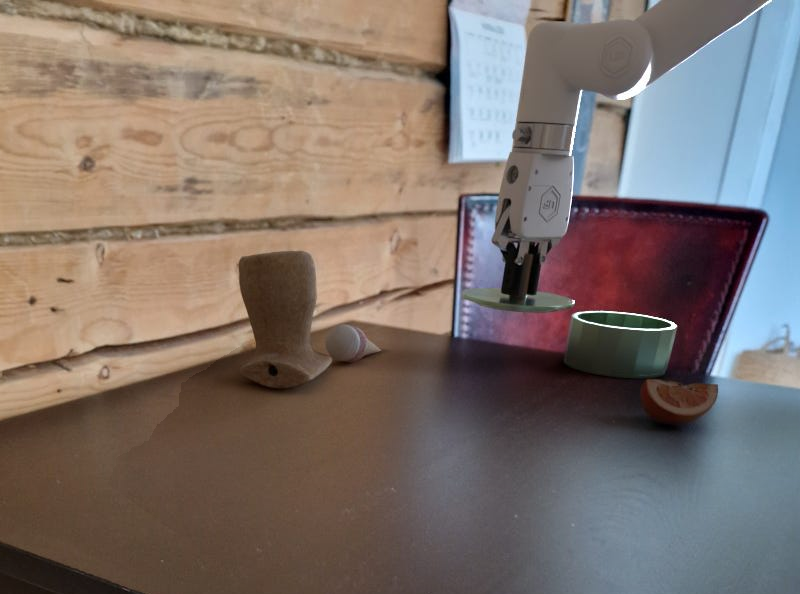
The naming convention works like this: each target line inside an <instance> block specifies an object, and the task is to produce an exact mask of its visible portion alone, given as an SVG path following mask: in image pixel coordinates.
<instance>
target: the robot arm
mask: <svg viewBox="0 0 800 594" xmlns="http://www.w3.org/2000/svg"><path fill="white" fill-rule="evenodd" d="M770 2H772V0H659V1H658V2H656V3H655V4H654V5H653V6H651V7H650V8H649V9H647V10H646V11H645V12H643V13H642V14H641V15H639V16H638V17H636V18H635V19H634V20H632V19H627V18H626V19H622V18H621V19H614V20H613V19H612V20H607V21H601V22H593V23H592V22H591V23H579V22H574V21H561V20H560V21H557V20H556V21H555V20H554V21H544V22H540V23H537V24H536V25H534V26H533V27H532V28H531V30H530V32H529V34H528V38H527V43H526V48H525V56H524V63H523V71H522V77H521V85H520V92H519V99H518V104H517V112H516V117H515V118H516V119H515V125H514V130H513V131H512V134H511V137H512V144H511V145H512V146H511V151H509V154H508V157H507V161H506V163H505V167H504V171H503V175H502V179H501V183H500V187H499V193H498V198H497V204H496V209H495V218H494V232H493V234H492V236H491V243H492V245H494V246H495V247H496V248H497V249H499V251H500V253H501V255H502V257H501V258H502V259H501V260H502V262H503V263H504V267H503V274H502V281H501V287H500V288H501V293H502V294H506V295H511V296H520V295H521V292H522V285H523V279H524V273H525V265H522V263H523V260H524V254H525V253H531V254H533V261H532V267H531V273H530V279H529V285H528V291H527V295H536V293H537V291H538V287H539V280H540V276H541V271H542V270H541V269H542V265H543V264H545V262H546V260H547V255H548V254H549V253H550V252H551V250H552V249H553V248H554V247H556V246H557V245H559V244H560V243H561V241H562V238H563V237H564V236H565V235H566V233H567V230H568V227H569V226H568V225H569V220H570V214H571V206H572V200H573V199H572V197H573V188H574V175H575V174H574V173H575V161H574V159H575V157H574V155H572V150H573V145H574V138H575V134H576V133H575V132H576V126H577V121H578V116H579V110H580V104H581V98H582V94H583V91H584V92H589V93H590V92H591V93H595V94H600V95H602V96H604V97H606V98H607V99H611V100H616V101H619V100H621V101H622V100H627V99H629V98H631V97H634V96H636V95H637V94H639V93H640V92H641V91H643V90H645V89H646V88H647V87H649V86H651V85H652V84H654V83H655V82H656V81H658V80H660V79H661V78H662V77H663V76H665V75H666V74H668V73H669V72H671V71H672V70H673V69H675V68H677V67H678V66H679V65H681V64H683V63H684V62H685V61H687V60H688V59H689V58H691V57H692V56H694V55H695V54H696V53H698V52H699V51H700V50H702V49H703V48H705V47H706V46H708V45H709V44H710V43H712V42H713V41H715V40H716V39H717V38H718V37H720V36H722V35H723V34H725V33H726V32H728V31H730V30H732V29H733V28H735V27H736V26H738V25H740V24H741V23H742V22H744V21H745V20H746V19H748V18H749V17H750V16H752V15H753V14H754V13H756V12H757V11H759V10H760V9H761V8H764V6H765V5H767V4H769V3H770ZM516 244H517V245H516Z"/></svg>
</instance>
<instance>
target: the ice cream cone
mask: <svg viewBox="0 0 800 594" xmlns="http://www.w3.org/2000/svg"><path fill="white" fill-rule="evenodd" d="M324 344H325V349H326V351H327V354H328V355H329V356H330V357H331V358H332V359H333V360H335V361H338V362H345V363H355V362H358V361H359V360H361V359H362V358H363V357H365V356H368V355H369V356H370V355H372V354H375V353H379V352H382V349H380V348H379V347H378V346H377V345H375V344H374V343H373V342H372V341H370V340H369V339H368V338H367V335H366V334H365V332H364V331H363V330H362V329H361V328H359V327H357V326H355V325H354V326H352V325H350V324H349V325H348V324H337V325H335V326H333V327H331V329H330V330H329V331H328V333H327V335H326V337H325V343H324Z"/></svg>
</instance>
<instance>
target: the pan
mask: <svg viewBox="0 0 800 594" xmlns="http://www.w3.org/2000/svg"><path fill="white" fill-rule="evenodd" d="M569 321H570V322H569V326H568V332H567V336H566V343H565V347H564V353H563V363H564V364H565V365H566V366H567V367H569V368H572V369H573V370H576V371H580V372H582V373H587V374H593V375H596V376H597V375H598V376H602V377H610V378H611V377H612V378H618V379H619V378H621V379H640V380H641V379H656V378H660V377H663V376H664V375H665V374H666V371H667V370H668V366H669V362H670V359H671V355H672V350H673V346H674V342H675V338H676V334H677V331H678V325H677V324H675V322H672V321H670V320H667V319H664V318H659V317H654V316H650V315H645V314H637V313H629V312H620V311H619V312H618V311H606V310H605V311H604V310H600V311H599V310H594V311H593V310H589V311H587V310H586V311H579V312H575V313H572V314H571V316H570V320H569Z"/></svg>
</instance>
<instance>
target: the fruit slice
mask: <svg viewBox="0 0 800 594" xmlns="http://www.w3.org/2000/svg"><path fill="white" fill-rule="evenodd" d="M718 393H719V384H716V383H706V382H705V383H704V382H703V383H700V382H693V383H689V384H685V385H684V384H683V382H678V381H673V380H664V379H663V380H662V379H657V378H645V380H644V382H643V383H642V384H641V387H640V391H639V398H640V404H641V406H642V408H643V410H644V412H645V414H647V416H648V417H650V418H651V419H653V421H656V422H658V423H661V424H665V425H673V426H676V425H677V426H678V425H684V424H688V423H692V422H694V421H696V420H698V419H700V418H701V417H702V416H704V415H705V414H706V413H707V412H709V411H710V410H711V409H712V408H713V406H714V405H715V403H716V402H717V399H718V395H719V394H718Z"/></svg>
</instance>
